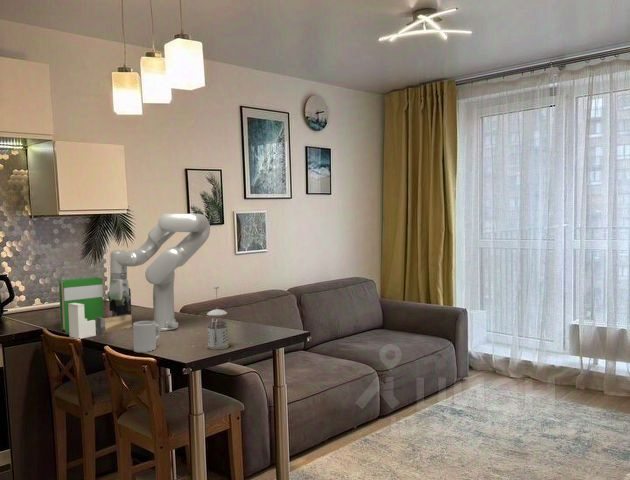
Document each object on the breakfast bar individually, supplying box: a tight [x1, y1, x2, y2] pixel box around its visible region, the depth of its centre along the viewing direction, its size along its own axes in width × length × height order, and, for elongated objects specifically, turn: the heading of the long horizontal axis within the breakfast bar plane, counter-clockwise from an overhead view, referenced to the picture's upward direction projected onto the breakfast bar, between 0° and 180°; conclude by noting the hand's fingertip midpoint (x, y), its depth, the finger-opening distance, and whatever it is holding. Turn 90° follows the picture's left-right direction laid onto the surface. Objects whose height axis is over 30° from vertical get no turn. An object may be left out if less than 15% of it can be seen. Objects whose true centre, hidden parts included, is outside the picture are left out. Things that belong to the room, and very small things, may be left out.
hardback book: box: [58, 276, 104, 334], centre depth 261 cm, size 18×7×24 cm, turn 131°
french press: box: [206, 285, 229, 347], centre depth 218 cm, size 10×12×25 cm
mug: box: [132, 320, 161, 353], centre depth 218 cm, size 12×8×11 cm
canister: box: [111, 287, 133, 318], centre depth 279 cm, size 10×10×18 cm
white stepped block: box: [68, 303, 97, 340], centre depth 244 cm, size 8×8×15 cm
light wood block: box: [96, 314, 133, 334], centre depth 257 cm, size 4×16×7 cm, turn 143°
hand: (118, 311), depth 260 cm, fingers open, 9 cm apart
